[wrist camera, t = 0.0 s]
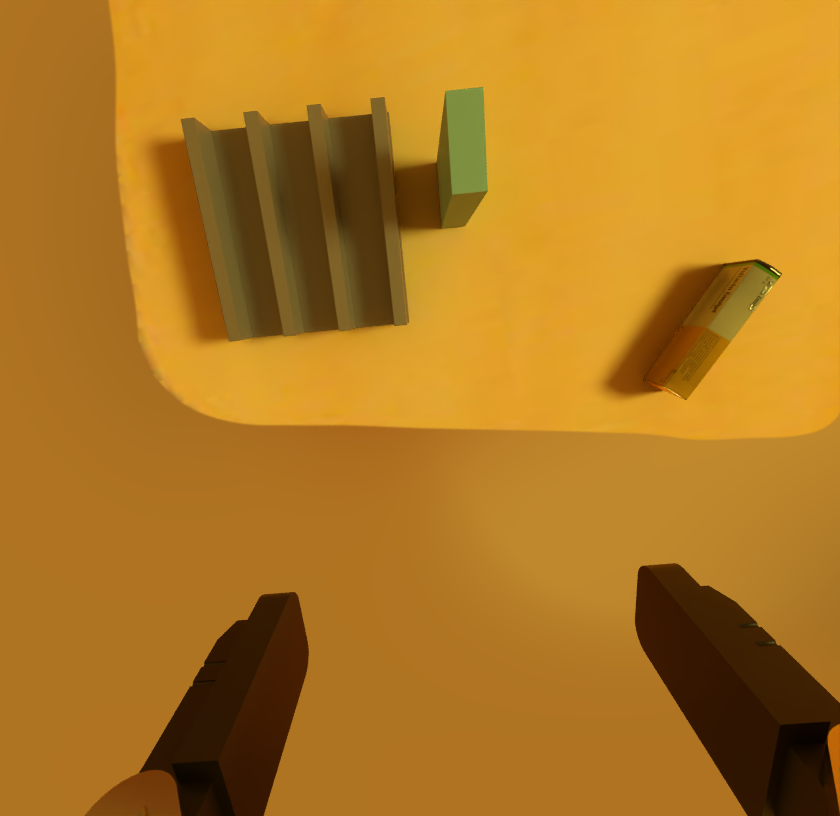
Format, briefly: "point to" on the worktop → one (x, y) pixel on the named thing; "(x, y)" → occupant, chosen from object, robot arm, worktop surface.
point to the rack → (301, 222)
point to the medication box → (711, 326)
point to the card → (461, 156)
